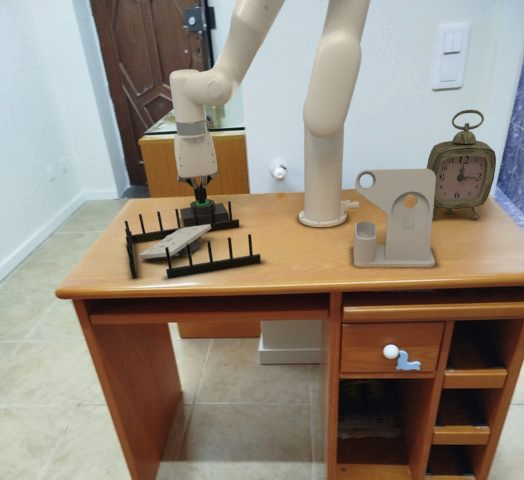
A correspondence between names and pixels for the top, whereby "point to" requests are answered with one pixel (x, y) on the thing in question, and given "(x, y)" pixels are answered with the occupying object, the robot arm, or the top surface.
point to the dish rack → (190, 268)
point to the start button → (202, 203)
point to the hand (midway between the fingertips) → (201, 202)
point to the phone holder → (397, 219)
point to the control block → (203, 213)
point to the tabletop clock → (462, 170)
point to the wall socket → (176, 243)
